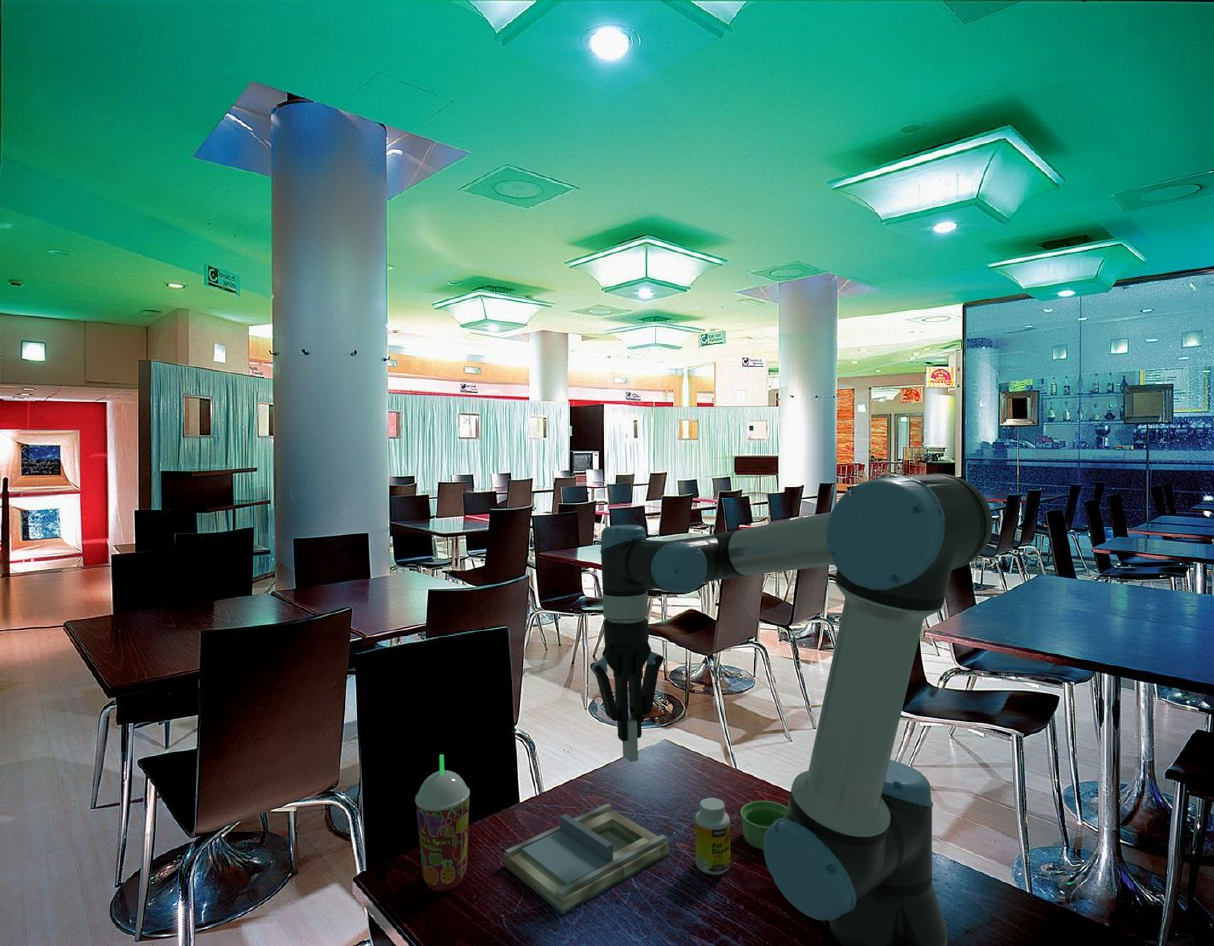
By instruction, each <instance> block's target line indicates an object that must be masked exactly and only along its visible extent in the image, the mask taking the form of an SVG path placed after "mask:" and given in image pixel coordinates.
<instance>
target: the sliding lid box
mask: <svg viewBox="0 0 1214 946" xmlns="http://www.w3.org/2000/svg"><path fill="white" fill-rule="evenodd" d="M612 807H613V805H612V804H611V803H609V802H608V803H606V804H603V805H601V806H599V807H597V808H593V809H592V810H589V811H588V812H586V813H584V814H582V815H579V816H577V817H574V818H573V819H574V820H576V821H578V822H579V823H581V824H582V825H584V826H585V827H587V828H589V829H590V830H592V831H593V832H595V833H596V834H598V835H599V836H601V837H603V838H604V839H606V840H607V841H609V842H610V843H612V844H613V861H611V862H609V863H607V864H606V865H604V866H602V867H600V868H598V869H596V870H594V871H592V872H591V873H589V874H587V875H585V876H583V877H581V878H579V879H577V880H575V881H574V882H572V883H570V884H568V885H566V886H565V885H564V884H562V883H561V882H560V881H559V880H557V879H556V878H555V877H553V876H552V875H551V874H550V873H548V872H547V871H546V870H544V869H543V868H542V867H540V866H539V865H538V864H537V863H535V862H534V861H533V860H531V859H530V858H529V857H527V856H526V855H525V854H524V853H522V848H524V847H526V846H528V845H531V844H533V843H535V842H537V841H539V840H541V839H543V838H546V837H548V836H550V835H552V834H554V833H556V832H559V831H560V824H559V825H557V826H555V827H553V828H551V829H548V830H546V831H544V832H542V833H539V834H538V835H536V836H534V837H531V838H529V839H527V840H525V841H523V842H520V843H518V844H515V845H513V846H511V847H509V848H507V849H505V852H504V853H503V866H504V867H505V868H507V870H509V871H510V872H511V873H513V875H514V876H516V877H517V878H518V879H520V880H521V881H522V882H523V883H525V885H527V887H529V888H530V889H532V890H533V891H534V892H536V894H537V895H539V896H540V897H541V898H543V899H544V900H545V901H546V902H547V903H548V904H549V905H551V906H552V907H553V908H554V909H556V910H557V911H558V912H559V913H560V914H562V915H565V914H566V913H568V912H570V911H571V910H574V909H575V908H577V907H579V906H581V905H582V904H584V903H586V902H588V901H590V900H591V899H593V898H594V897H596V896H598V895H600V894H602V893H604V892H606V891H607V890H609V889H610V888H612V887H614V886H616V885H618V884H619V883H621V882H623V881H625V880H627V879H628V878H630V877H631V876H633V875H636V874H637V873H639V872H641V871H643V870H644V869H646V868H648V867H650V866H652V865H653V864H655V863H657V862H658V861H660V860H662V859H664V858H665V857H667V856H669V855H670V847H669V846H670V843H669V842H668V841H667V836H666V835H664V834H660V835H656V834H654V832H651V831H649V830H648V829H646V828H644V827H643V826H641V825H639V824H638V823H636V822H634V821H632V820H631V819H629V818H627V817H625V816H623V815H622V814H620V813H619V812H618V811H615V810H613V809H612Z"/></svg>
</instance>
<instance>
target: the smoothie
mask: <svg viewBox="0 0 1214 946" xmlns="http://www.w3.org/2000/svg"><path fill="white" fill-rule="evenodd" d="M470 790H471V789H470V788H469V787H468V786H467V785H466V782H465V781H464V779H463V778H462V777H461V776H460V774H458V773H457V772H454V771H452V770H445V756H444V754H439V770H438V771H436V772H434V773H432V774H430V775H429V776H427V777H426V779H424V781H423V783H422V784H421V785H420V787H419V791H418V792H417V794H415V798H414V802H415V804H416V807H415V809H416V819H417V829H418V830H417V831H418V840H419V849H420V861H421V871H422V879H423V880H424V882H425V883H426V885H427V888H429V889H431V890H433V891H437V892H445V891H450V890H451V889H454V888H456V887H458V886H459V885H460V884H461V883H462V882H463V880H464V876H465V875H466V873H467V870H468V850H469V849H468V846H469V845H468V844H469V841H468V840H469V820H470V819H469V817H470V813H469V812H470V795H471V791H470Z"/></svg>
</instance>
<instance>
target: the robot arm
mask: <svg viewBox="0 0 1214 946" xmlns="http://www.w3.org/2000/svg"><path fill="white" fill-rule="evenodd" d="M991 509H992V508H991V507H990V504H989V502H988V501H987V499H986V497H985V496H984V494H983V493H982V492H981V491H980V490H979V489H978V488H977V487H976V486H974V485H973V484H972V483H970V481H967V480H965V479H963V478H961V477H958V476H955V475H952V474H945V473H927V474H916V475H896V474H892V475H884V476H881V477H876V478H873V479H870V480H866V481H863V482H861V483H859V484H856V485H855V486H853V487H852V488H850V489H849V490H848V491H846V492H845V493H844V494H843V495H842V496H841V497H840V498H839V499H838V501H837V502H836V503H835V505H834V507H833V508H832V510H831V511H829V512H828V511H827V512H823V513H820V514H819V513H817V514H814V515H808V516H804V517H798V518H794V519H793V518H792V519H789V520H782V521H778V522H772V523H768V524H763V525H758V526H752V527H747V528H743V529H739V530H732V531H726V532H722V533H721V532H720V533H716V534H709V535H704V536H695V537H689V538H680V539H673V540H653V539H652V540H651V539H647V536H646V529H645V527H643V526H641V525H639V524H638V525H637V524H620V525H619V524H618V525H616V524H615V525H609V526H606V527H604V528H603V529H602V531H601V534H600V535H601V537H600V551H599V552H600V553H599V554H600V559H601V560H600V561H601V563H600V564H601V583H602V611H603V613H602V614H603V617H604V618H605V619H604V621H603V640H604V641H603V642H604V649H603V651H602V655H601V656H602V657H601V658H600V659H599V660H598V661H597V662H592V663H590V666H589V668H590V671H592V672H593V674H594V675H595V678H596V682H597V686H598V687H599V692H600V696H601V699H602V703H603V708H604V711H605V715H606V716H607V717H608V718H609V719H610V720H612V721H613V722H617V726H616V727H617V737H618V740H620V741H621V742H622V757H623V758H625V759H626V760H627V761H628V762H629V763H632V762H637V761H639V747H638V742H639V741H638V739H640V738H641V737H642V735H643V734H642V732H643V730H642V722H643V721H644V720H645V716H646V715H651V713H652V711H653V705H654V698H655V694H656V689H657V688H656V687H657V683H658V682H657V681H658V676H659V670H660V668H661V666H662V665H663V662H664V660H665V659H664V657H663V655H661V654H659V653H657V652H655V651H652V647H651V645H650V644H649V643H650V642H649V639H650V631H649V630H650V628H649V625H650V624H649V620H648V618H647V616H649V603H648V601H649V600H648V599H649V598H648V588H651V589H656V590H660V591H661V590H662V591H666V592H669V593H673V594H674V593H675V594H677V593H685V594H688V593H692V592H695V591H696V590H697V589H698V588H699V587H700V586H701V585H702V584H705V583H710V582H714V581H716V582H717V581H720V580H728V579H733V578H742V577H748V576H756V575H762V574H764V575H765V574H772V573H780V572H787V571H797V570H798V571H799V570H803V569H814V568H820V567H828V566H829V567H830V566H835V568H836V573H835V577H834V583H835V585H836V586H837V588H838V589H839V590H840V592H841V593H842V595H843V596H844V602H843V608H842V612H841V617H840V620H839V621H840V622H839V625H838V630H837V635H836V636H837V637H836V640H835V644H834V649H833V654H832V658H831V659H832V660H831V663H830V668H829V673H828V677H827V682H826V687H825V692H824V696H823V700H822V707H821V711H820V715H819V719H818V725H817V729H816V735H815V738H814V743H813V748H812V752H811V757H810V762H809V767H808V770H805V771H803V772H800V773H799V774H797V776H796V777H795V778H794V779H793V782H792V785H791V789H790V794H789V799H788V803H787V806H786V807H787V811H786V814H785V816H784V817H783V818H780V819H777V820H775V821H774V822H773V824H772V825H771V826H770V827H769V828H768V829H767V831H766V833H765V836H764V842H763V850H762V851H763V856H764V860H765V863H766V866H767V867H766V868H767V869H768V872H769V874H771V876H772V879H773V880H774V881H773V882H774V884H775V886H776V887H777V888H778V889H779V891H780V892H781V894H782V895H783V896H784V898H785V899H786V900H787V901H788V903H790V904H791V905H792V906H793V907H794V908H796V909H797V910H798V911H800V912H801V913H803V914H804V915H806V916H807V917H810V918H811V919H815V920H818V921H828V924H829V928H830V930H831V934H832V935H833V937H834V938H835V940H837V942H839V944H840V945H841V946H948V928H947V925H946V921H945V918H944V915H943V913H942V910H941V909H942V908H941V906H940V904H939V903H940V902H939V901H938V899H937V898H938V897H937V895H936V892H935V890H934V886H933V807H934V802H933V800H932V790H931V789H932V788H931V784H930V782H929V780H928V779H927V777H926V776H925V775H924V774H922V772H921V771H919V770H918V769H916V768H914V767H912V766H910V765H908V764H905V763H902V762H899V761H896V760H894V759H891V756H892V754H893V749H894V745H895V740H896V736H897V731H898V727H899V724H900V721H901V716H902V712H903V707H904V703H905V699H906V695H907V691H908V687H909V683H910V679H911V678H910V677H911V673H912V670H913V665H914V661H915V657H916V653H917V649H918V644H919V641H920V636H921V633H922V628H923V624H924V620H925V618H928V617H930V616H931V615H933V614H936V613H938V612H940V611H941V610H942V609H943V606H944V602H945V599H946V594H947V590H948V587H949V586H948V585H949V583H950V579H951V574H952V571H953V570H956V569H959V568H963V567H964V566H966V565H969V564H970V563H972V562H973V561H975V559H978V557H979V556H981V554H982V553H983V552H984V551H985V550H986V548H987V546H988V545H989V542H990V540H991V538H992V534H993V527H994V522H993V521H994V519H993V513H992V510H991ZM645 664H646V665H645ZM644 666H645V669H644V674H643V667H644ZM608 667H609V668H610V669H611V670H612V673H613V676H612V677H613V679H614V694H613V690H612V685H611V682H610V678H609V676H608V674H607V673H608V669H609V668H608ZM643 675H644V676H643ZM642 679H643V681H642ZM614 695H615V696H614ZM614 697H615V698H614Z"/></svg>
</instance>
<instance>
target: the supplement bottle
mask: <svg viewBox="0 0 1214 946" xmlns="http://www.w3.org/2000/svg"><path fill="white" fill-rule="evenodd" d="M725 808H726V806H725V803H724V801H723V800H721V799H719V798H716V797H707V798H704V799H702V800H701V801H700V802H699V811H697V813H696V814H695V818H694V822H695V823H694V826H695V829H694V830H695V831H694V832H695V836H694V837H695V840H694V842H695V864H696V866H697V868H698V869H699V870H700V871H701V872H703V873H705V874H708V875H715V876H717V875H721V874H724V873H727V871H728V870H729V869H730V867H731V820H730V816H729V814H728V813H727V812H726V809H725Z"/></svg>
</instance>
